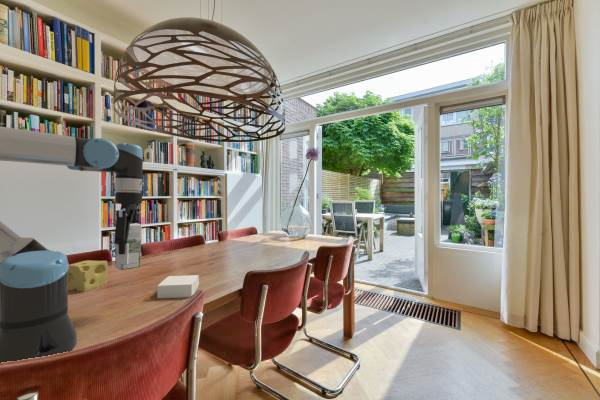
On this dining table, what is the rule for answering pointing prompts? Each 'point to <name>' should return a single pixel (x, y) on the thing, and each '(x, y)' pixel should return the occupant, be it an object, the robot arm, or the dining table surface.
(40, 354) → the robot arm
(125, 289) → the dining table surface
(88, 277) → the cheese
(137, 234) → the syrup box
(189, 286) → the cream block
